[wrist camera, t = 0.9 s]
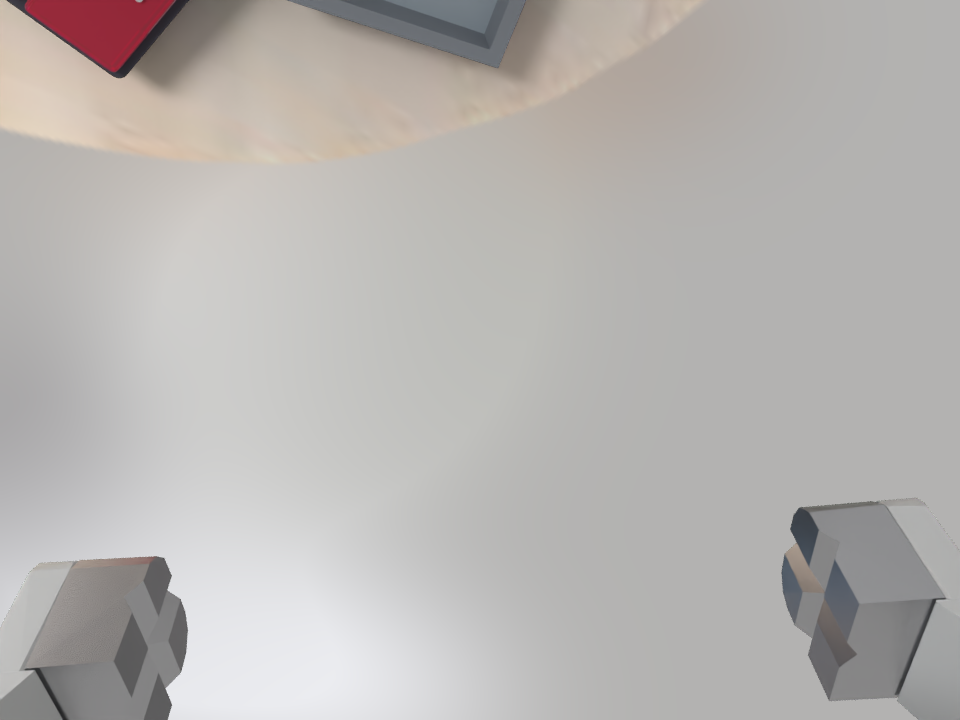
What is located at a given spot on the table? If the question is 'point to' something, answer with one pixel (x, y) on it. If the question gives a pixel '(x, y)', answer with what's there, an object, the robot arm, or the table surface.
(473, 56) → the pocket tray
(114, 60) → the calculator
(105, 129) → the table surface
